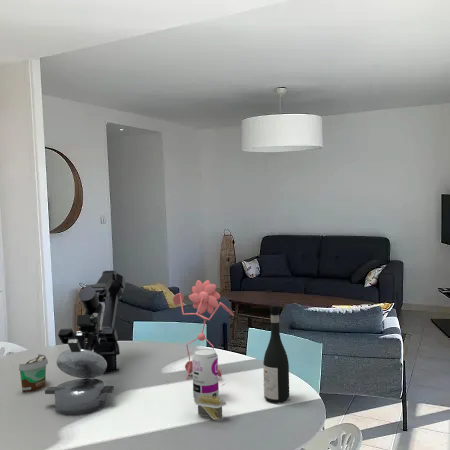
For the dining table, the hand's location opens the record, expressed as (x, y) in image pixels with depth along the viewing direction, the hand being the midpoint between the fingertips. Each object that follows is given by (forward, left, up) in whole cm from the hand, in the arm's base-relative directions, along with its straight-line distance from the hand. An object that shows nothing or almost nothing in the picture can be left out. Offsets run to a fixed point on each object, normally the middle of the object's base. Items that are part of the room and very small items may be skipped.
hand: (83, 358), depth 163 cm
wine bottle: (-46, +41, -14) cm, 63 cm away
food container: (+8, -22, -14) cm, 27 cm away
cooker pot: (+3, +4, -13) cm, 14 cm away
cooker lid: (+2, +3, 0) cm, 4 cm away
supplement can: (-30, +25, -14) cm, 42 cm away
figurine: (-43, +8, -14) cm, 46 cm away
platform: (-22, +38, -14) cm, 46 cm away
